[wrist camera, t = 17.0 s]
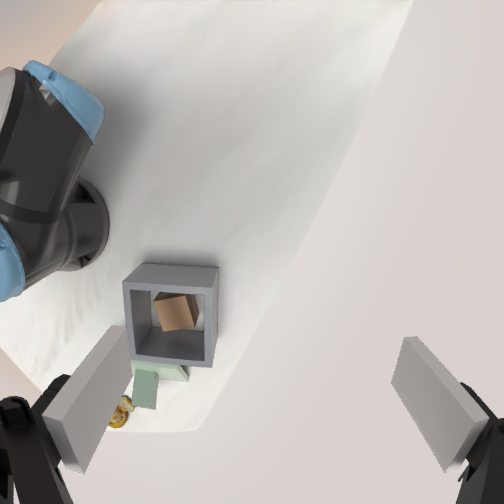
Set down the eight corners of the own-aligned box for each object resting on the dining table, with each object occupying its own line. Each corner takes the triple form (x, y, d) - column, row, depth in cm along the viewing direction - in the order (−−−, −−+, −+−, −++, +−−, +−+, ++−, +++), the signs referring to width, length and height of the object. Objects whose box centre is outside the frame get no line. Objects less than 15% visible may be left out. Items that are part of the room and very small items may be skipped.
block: (170, 317, 51) (163, 331, 46) (161, 289, 50) (153, 301, 45) (199, 312, 51) (194, 326, 46) (191, 283, 50) (185, 295, 45)
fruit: (135, 399, 55) (130, 412, 51) (134, 425, 57) (130, 437, 54) (96, 387, 54) (89, 398, 51) (98, 413, 56) (92, 425, 53)
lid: (126, 358, 55) (121, 404, 50) (103, 340, 44) (95, 396, 40) (189, 365, 55) (185, 414, 50) (179, 349, 45) (173, 409, 40)
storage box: (146, 331, 52) (130, 359, 43) (142, 263, 49) (122, 281, 40) (217, 337, 52) (211, 367, 43) (218, 267, 49) (212, 287, 40)
